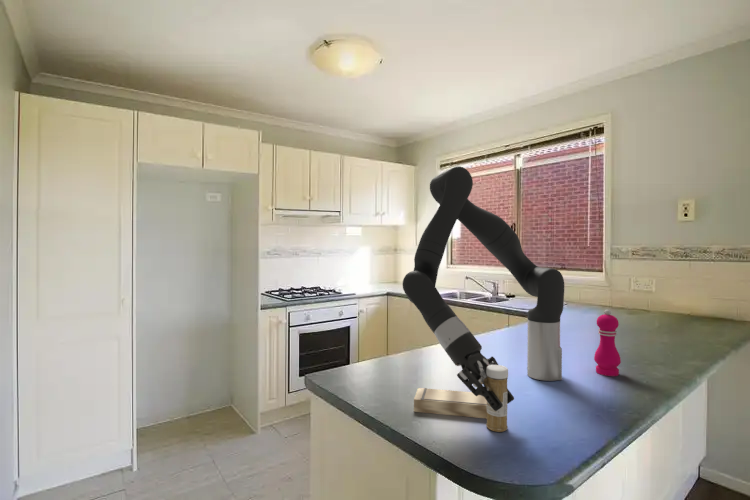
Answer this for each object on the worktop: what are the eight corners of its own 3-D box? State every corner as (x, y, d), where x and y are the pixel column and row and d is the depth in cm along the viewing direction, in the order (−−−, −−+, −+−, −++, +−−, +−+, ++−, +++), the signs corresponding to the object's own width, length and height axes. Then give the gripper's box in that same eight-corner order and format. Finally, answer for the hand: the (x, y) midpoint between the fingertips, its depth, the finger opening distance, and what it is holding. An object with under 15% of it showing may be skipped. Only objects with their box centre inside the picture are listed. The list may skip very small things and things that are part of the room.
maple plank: (498, 406, 101) (498, 393, 101) (500, 419, 93) (500, 406, 93) (418, 399, 105) (418, 387, 105) (413, 411, 97) (413, 398, 97)
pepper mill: (619, 371, 128) (619, 308, 128) (622, 378, 122) (622, 312, 122) (593, 368, 131) (593, 307, 131) (594, 375, 125) (595, 310, 125)
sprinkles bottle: (482, 428, 88) (482, 367, 88) (491, 421, 92) (491, 362, 92) (503, 434, 85) (503, 371, 85) (511, 427, 89) (511, 366, 89)
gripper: (450, 336, 88) (501, 405, 80) (482, 326, 99) (531, 387, 91) (430, 355, 92) (477, 424, 84) (463, 344, 102) (508, 404, 94)
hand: (505, 404), depth 87 cm, fingers open, 5 cm apart
